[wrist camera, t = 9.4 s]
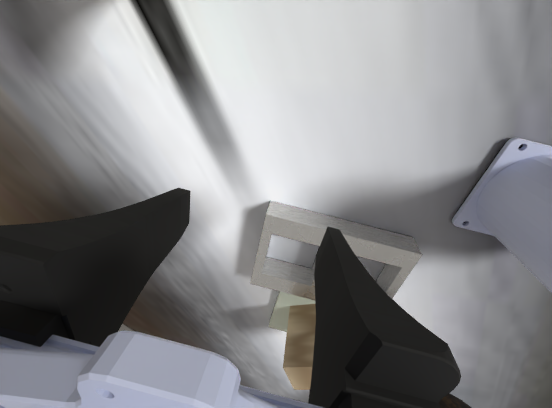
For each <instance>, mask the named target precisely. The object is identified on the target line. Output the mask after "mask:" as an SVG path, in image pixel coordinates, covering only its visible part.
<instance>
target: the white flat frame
mask: <svg viewBox="0 0 552 408" xmlns="http://www.w3.org/2000/svg"><path fill="white" fill-rule="evenodd" d="M327 227H332V228H336V229H339V230H340V231H341V233H342V234H343V236H344V238H345V239H346V241H347V243H348V244H349V246H350V247H351V249H352V251H353V252H354V254H355V255H356V256H359V257H363V258H367V259H371V260H375V261H378V262H382V263H386V265H385V267H384V268H383V270H382V272H381V273H380V275H379V277H378V278H377V280H376V282H377V284H378V285H379V286H380V287H381V288H382V289H383V290H384V291H385V292H386V293H387V294H388V295H389V296H390V297H391V298H393V297H394V295H395V294H396V292H397V291H398V289H399V288H400V287H401V285H402V284H403V282H404V281H405V279H406V278H407V276H408V275H409V273H410V272H411V271H412V269H413V268H414V266H415V265H416V263H417V262H418V260H419V259H420V258H421V256H422V253H421V251H420V249H419V248H418V246H417V244H416V242H415V240H414V238H413V237H410V236H406V235H402V234H398V233H394V232H390V231H386V230H383V229H379V228H375V227H371V226H367V225H363V224H359V223H355V222H352V221H348V220H344V219H340V218H336V217H332V216H328V215H324V214H320V213H317V212H313V211H309V210H305V209H301V208H297V207H293V206H289V205H286V204H282V203H278V202H274V201H270V204H269V207H268V210H267V213H266V216H265V221H264V225H263V229H262V234H261V238H260V242H259V247H258V251H257V256H256V260H255V264H254V269H253V273H252V277H251V282H250V284H254V285H257V286H261V287H265V288H269V289H273V290H276V291H280V292H284V293H288V294H292V295H295V296H299V297H303V298H307V299H311V300H314V301H315V281H314V270H315V261H314V264H313V266H312V269H311V268H307V267H303V266H299V265H295V264H292V263H288V262H284V261H280V260H276V259H272V258H269V257H266V254H267V250H268V246H269V242H270V238H271V235H272V234H274V235H278V236H282V237H286V238H290V239H294V240H298V241H301V242H305V243H309V244H313V245H317V246H320V244H321V242H322V239H323V237H324V234H325V232H326V229H327ZM315 260H316V259H315Z"/></svg>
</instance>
